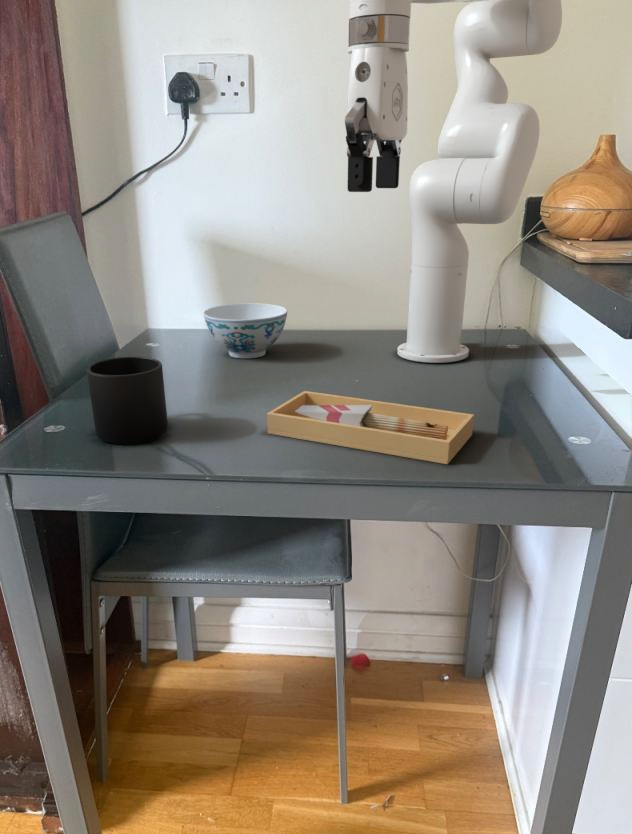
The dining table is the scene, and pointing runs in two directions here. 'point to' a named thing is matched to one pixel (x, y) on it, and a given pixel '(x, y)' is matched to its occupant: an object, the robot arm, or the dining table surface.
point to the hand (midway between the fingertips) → (373, 189)
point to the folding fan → (372, 419)
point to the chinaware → (246, 327)
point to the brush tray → (373, 439)
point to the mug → (128, 399)
